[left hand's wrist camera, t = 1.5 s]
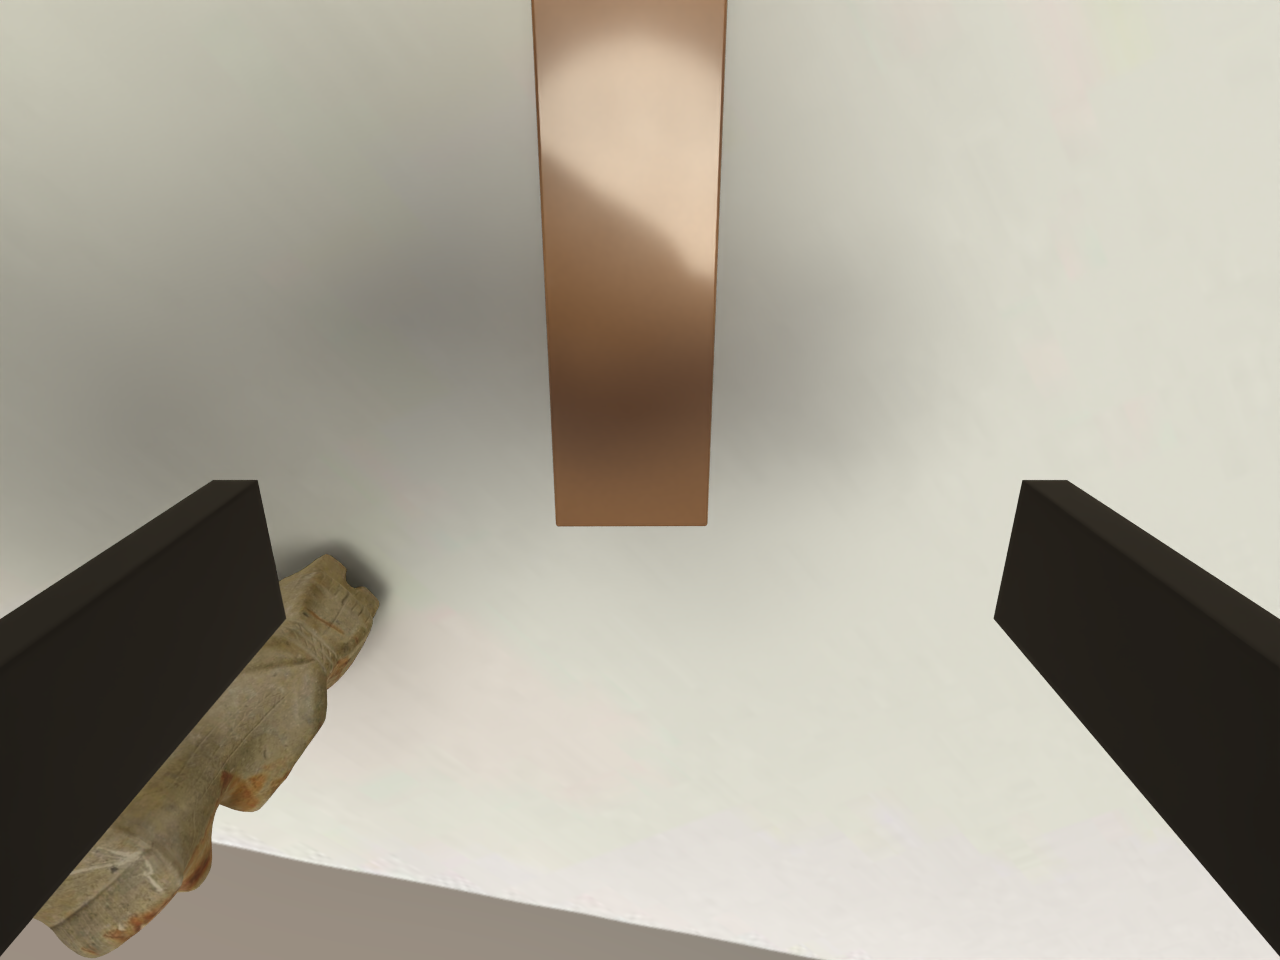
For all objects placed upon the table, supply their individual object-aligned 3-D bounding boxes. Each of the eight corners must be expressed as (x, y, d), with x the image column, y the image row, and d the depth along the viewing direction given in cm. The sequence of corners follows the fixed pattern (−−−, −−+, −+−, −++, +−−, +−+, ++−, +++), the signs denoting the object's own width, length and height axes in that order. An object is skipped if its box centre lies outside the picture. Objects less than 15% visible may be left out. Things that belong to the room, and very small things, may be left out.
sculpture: (217, 599, 33) (-83, 888, 19) (330, 519, 32) (94, 769, 18) (306, 684, 35) (89, 1004, 21) (417, 611, 34) (263, 904, 20)
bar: (687, 435, 31) (707, 526, 22) (577, 435, 31) (555, 527, 22) (704, -236, 23) (746, -497, 14) (555, -236, 23) (507, -499, 14)
